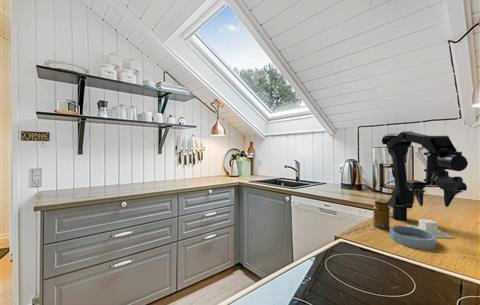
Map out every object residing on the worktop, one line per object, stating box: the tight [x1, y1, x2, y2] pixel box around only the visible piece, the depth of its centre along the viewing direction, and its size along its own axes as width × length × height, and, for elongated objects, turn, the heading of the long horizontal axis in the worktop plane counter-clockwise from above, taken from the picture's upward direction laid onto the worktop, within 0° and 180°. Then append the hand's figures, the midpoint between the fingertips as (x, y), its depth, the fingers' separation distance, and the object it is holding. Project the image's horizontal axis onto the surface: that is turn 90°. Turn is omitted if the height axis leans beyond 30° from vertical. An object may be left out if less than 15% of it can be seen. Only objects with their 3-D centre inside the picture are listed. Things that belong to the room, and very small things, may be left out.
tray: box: [405, 224, 453, 239], centre depth 95 cm, size 12×10×1 cm
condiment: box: [370, 200, 390, 230], centre depth 100 cm, size 7×8×12 cm
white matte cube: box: [418, 218, 439, 234], centre depth 95 cm, size 4×4×4 cm
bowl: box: [389, 225, 437, 250], centre depth 86 cm, size 14×14×4 cm
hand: (433, 206), depth 90 cm, fingers open, 9 cm apart
